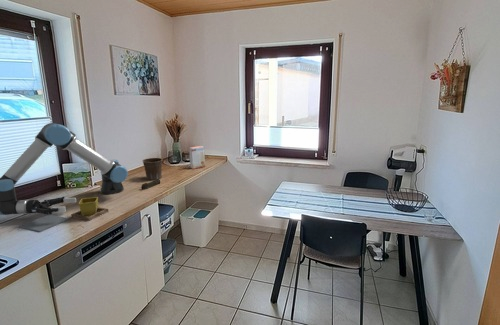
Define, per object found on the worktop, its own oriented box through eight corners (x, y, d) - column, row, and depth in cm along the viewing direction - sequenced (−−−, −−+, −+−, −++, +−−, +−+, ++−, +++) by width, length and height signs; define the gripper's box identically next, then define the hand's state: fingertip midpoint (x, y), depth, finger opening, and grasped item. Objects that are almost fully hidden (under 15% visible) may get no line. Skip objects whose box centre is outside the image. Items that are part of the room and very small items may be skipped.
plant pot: (152, 182, 222) (151, 162, 218) (139, 179, 230) (138, 160, 227) (167, 177, 236) (166, 159, 232) (155, 174, 244) (154, 157, 240)
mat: (49, 215, 158) (49, 214, 158) (69, 219, 153) (69, 218, 153) (18, 227, 143) (18, 226, 143) (40, 232, 138) (39, 231, 138)
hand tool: (156, 183, 220) (156, 177, 219) (160, 183, 218) (160, 178, 217) (138, 190, 203) (138, 184, 202) (143, 191, 202) (142, 185, 200)
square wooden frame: (91, 208, 168) (91, 205, 167) (108, 211, 163) (108, 208, 163) (71, 217, 155) (70, 214, 155) (89, 220, 151) (88, 217, 151)
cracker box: (202, 166, 277) (201, 145, 272) (205, 167, 272) (204, 146, 268) (189, 168, 268) (188, 147, 263) (192, 169, 264) (191, 148, 259)
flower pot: (83, 212, 162) (81, 198, 160) (99, 210, 165) (98, 196, 163) (80, 218, 154) (78, 203, 152) (97, 216, 157) (95, 201, 155)
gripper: (42, 204, 165) (80, 202, 169) (16, 222, 141) (61, 219, 145) (40, 192, 163) (79, 191, 167) (13, 209, 139) (59, 206, 143)
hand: (70, 204), depth 156 cm, fingers open, 13 cm apart
